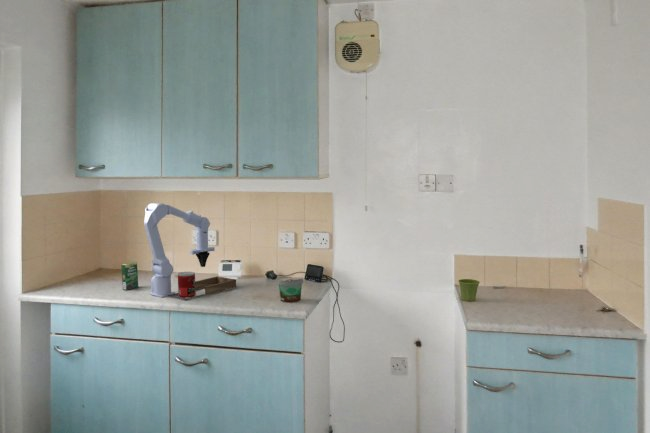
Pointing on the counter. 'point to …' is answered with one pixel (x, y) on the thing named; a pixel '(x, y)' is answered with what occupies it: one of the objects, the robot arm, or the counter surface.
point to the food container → (290, 290)
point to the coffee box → (129, 276)
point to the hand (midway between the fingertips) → (202, 266)
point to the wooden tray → (215, 284)
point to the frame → (185, 298)
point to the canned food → (186, 284)
